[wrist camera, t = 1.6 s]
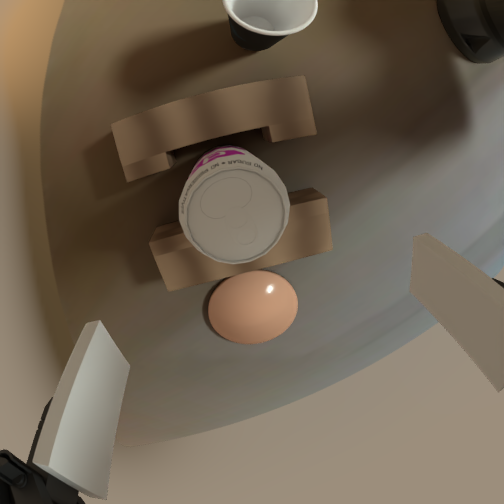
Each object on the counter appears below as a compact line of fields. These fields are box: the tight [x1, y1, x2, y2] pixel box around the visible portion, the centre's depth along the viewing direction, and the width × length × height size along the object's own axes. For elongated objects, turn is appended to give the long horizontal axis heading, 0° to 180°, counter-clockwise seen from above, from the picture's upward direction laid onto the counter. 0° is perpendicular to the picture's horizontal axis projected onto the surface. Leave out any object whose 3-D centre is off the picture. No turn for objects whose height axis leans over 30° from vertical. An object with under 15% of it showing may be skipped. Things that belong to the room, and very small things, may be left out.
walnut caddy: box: [111, 75, 333, 292], centre depth 30 cm, size 20×20×5 cm
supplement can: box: [179, 145, 290, 264], centre depth 26 cm, size 8×8×15 cm
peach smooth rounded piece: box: [208, 269, 298, 344], centre depth 41 cm, size 13×13×1 cm
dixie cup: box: [223, 0, 318, 51], centre depth 20 cm, size 8×8×11 cm
